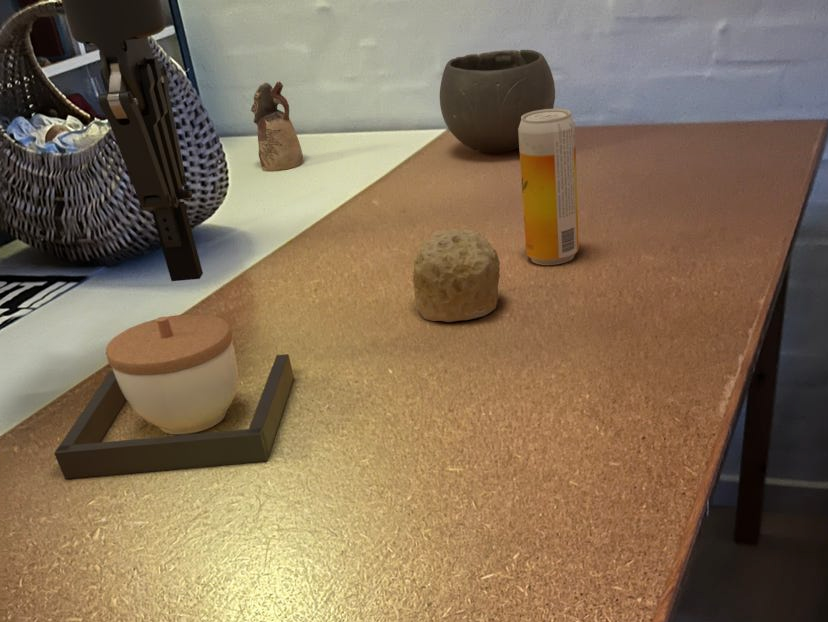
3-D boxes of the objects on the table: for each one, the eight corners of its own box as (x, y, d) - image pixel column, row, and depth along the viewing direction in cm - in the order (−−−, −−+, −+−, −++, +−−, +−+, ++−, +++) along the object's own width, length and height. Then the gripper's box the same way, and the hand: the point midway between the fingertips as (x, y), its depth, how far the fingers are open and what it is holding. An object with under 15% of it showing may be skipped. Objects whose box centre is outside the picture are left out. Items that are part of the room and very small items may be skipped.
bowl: (526, 128, 164) (521, 41, 156) (577, 148, 151) (575, 54, 143) (428, 149, 159) (418, 60, 151) (472, 171, 146) (463, 75, 138)
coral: (434, 291, 109) (426, 219, 104) (513, 293, 106) (508, 220, 101) (402, 323, 102) (391, 249, 97) (485, 327, 99) (478, 251, 94)
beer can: (550, 245, 117) (544, 105, 107) (589, 254, 113) (586, 110, 104) (515, 261, 114) (505, 118, 104) (554, 270, 110) (547, 123, 101)
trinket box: (259, 387, 93) (234, 289, 87) (240, 441, 85) (211, 337, 79) (149, 398, 94) (117, 302, 88) (119, 453, 85) (82, 350, 79)
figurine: (272, 159, 164) (255, 78, 157) (310, 158, 162) (295, 76, 155) (253, 171, 159) (234, 88, 151) (293, 170, 157) (276, 86, 149)
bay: (118, 394, 95) (109, 370, 93) (294, 378, 94) (288, 353, 93) (64, 479, 83) (53, 453, 81) (267, 461, 82) (260, 434, 80)
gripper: (130, -16, 72) (212, 299, 87) (171, -35, 82) (238, 250, 97) (31, -5, 73) (130, 306, 88) (84, -26, 83) (165, 257, 98)
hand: (187, 277), depth 93 cm, fingers closed
